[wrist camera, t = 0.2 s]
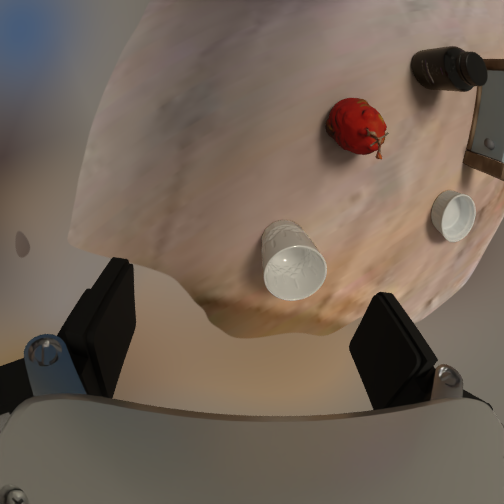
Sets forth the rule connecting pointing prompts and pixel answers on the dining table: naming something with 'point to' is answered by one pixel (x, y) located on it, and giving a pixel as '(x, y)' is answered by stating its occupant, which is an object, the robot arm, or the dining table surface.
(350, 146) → the red clay folk toy
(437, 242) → the dining table surface
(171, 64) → the dining table surface
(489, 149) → the door
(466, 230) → the ramekin
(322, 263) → the white cup
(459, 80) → the supplement bottle
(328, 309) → the dining table surface
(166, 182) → the dining table surface
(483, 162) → the door frame
